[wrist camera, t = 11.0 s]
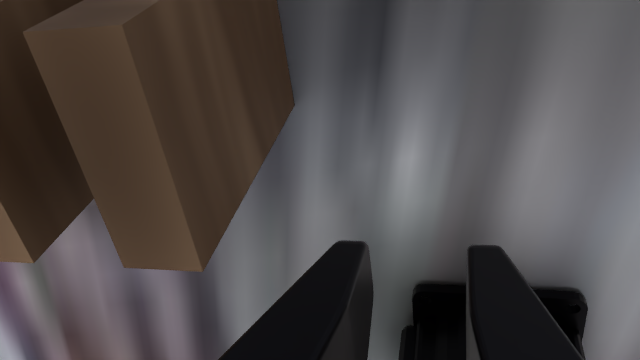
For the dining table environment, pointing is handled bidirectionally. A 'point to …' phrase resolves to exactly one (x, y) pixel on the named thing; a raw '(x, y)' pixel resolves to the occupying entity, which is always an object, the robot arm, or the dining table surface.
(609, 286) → the dining table surface
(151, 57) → the domino
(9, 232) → the domino
